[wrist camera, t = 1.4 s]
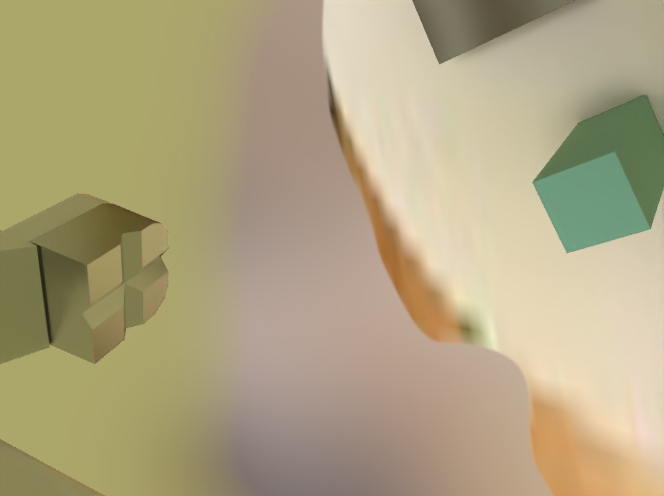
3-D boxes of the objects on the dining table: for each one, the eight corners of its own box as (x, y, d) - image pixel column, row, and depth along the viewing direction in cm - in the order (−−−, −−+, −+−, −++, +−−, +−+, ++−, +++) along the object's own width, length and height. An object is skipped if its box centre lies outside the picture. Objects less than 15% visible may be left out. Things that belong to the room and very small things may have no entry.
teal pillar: (645, 94, 41) (614, 151, 32) (673, 156, 42) (650, 229, 33) (578, 122, 44) (532, 182, 35) (605, 180, 44) (566, 253, 35)
